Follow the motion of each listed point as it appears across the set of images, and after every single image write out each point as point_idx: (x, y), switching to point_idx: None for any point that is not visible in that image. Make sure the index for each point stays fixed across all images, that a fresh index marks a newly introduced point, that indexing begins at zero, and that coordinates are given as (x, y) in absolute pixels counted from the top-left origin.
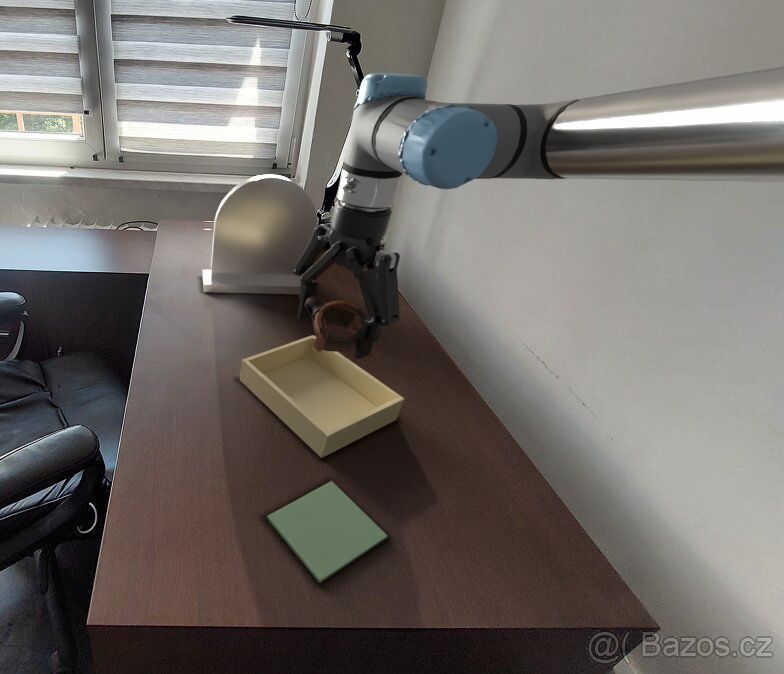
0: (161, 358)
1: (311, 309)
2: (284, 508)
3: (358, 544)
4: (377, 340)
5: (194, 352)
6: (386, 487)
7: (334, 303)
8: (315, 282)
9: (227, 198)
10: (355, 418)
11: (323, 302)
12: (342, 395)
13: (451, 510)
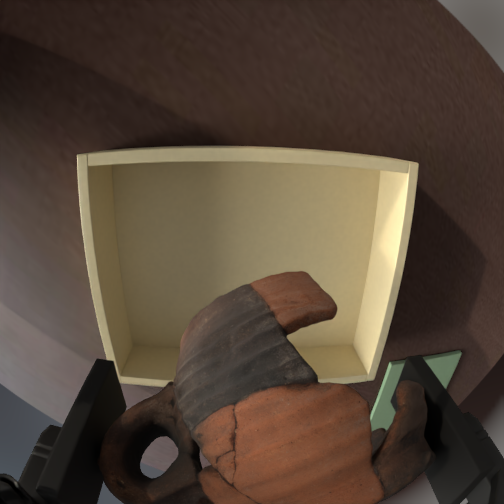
0: (48, 400)
1: (143, 450)
2: (371, 422)
3: (443, 382)
4: (468, 414)
5: (38, 358)
6: (441, 302)
7: None
8: (46, 497)
9: None
10: (386, 314)
11: (186, 499)
12: (276, 202)
13: (498, 256)
